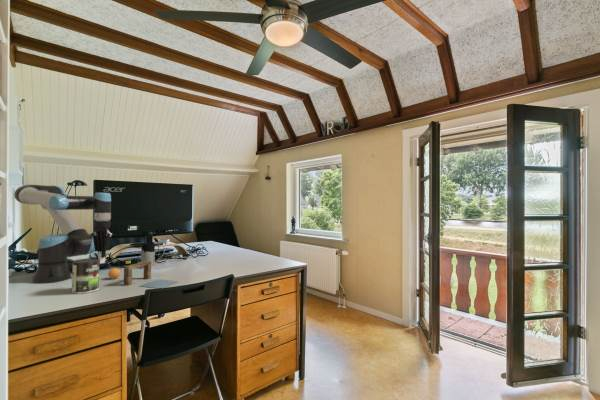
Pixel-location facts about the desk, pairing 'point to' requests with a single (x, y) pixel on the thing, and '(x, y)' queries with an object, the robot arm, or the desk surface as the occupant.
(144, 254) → the glass holder
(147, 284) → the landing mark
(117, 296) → the desk surface
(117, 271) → the ball
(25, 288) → the desk surface
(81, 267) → the coffee can
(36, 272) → the robot arm
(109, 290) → the desk surface
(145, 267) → the bridge
